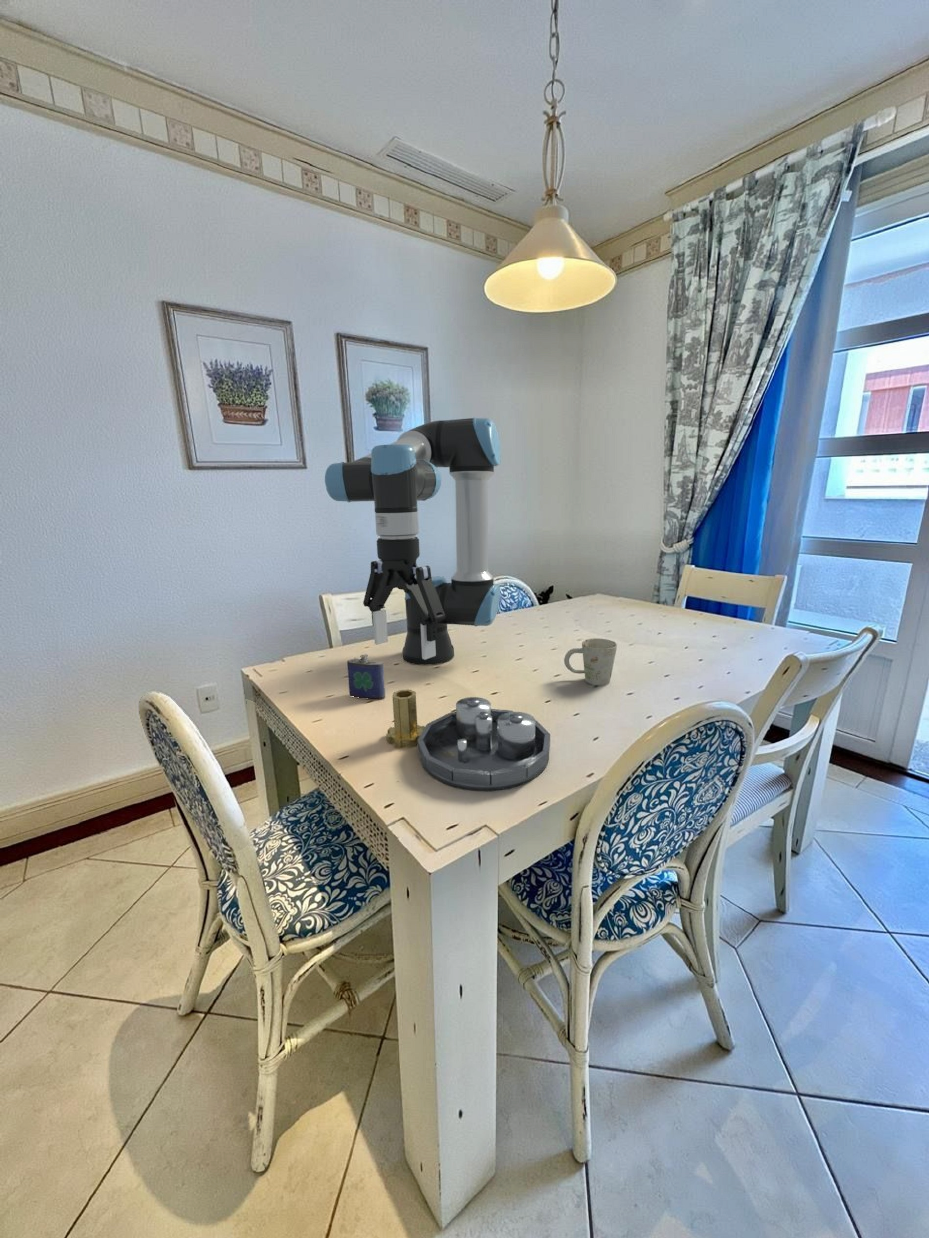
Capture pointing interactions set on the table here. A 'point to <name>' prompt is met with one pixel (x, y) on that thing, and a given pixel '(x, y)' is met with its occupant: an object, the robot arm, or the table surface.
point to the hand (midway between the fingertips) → (404, 649)
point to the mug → (595, 660)
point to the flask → (366, 678)
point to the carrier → (484, 747)
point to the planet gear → (404, 720)
